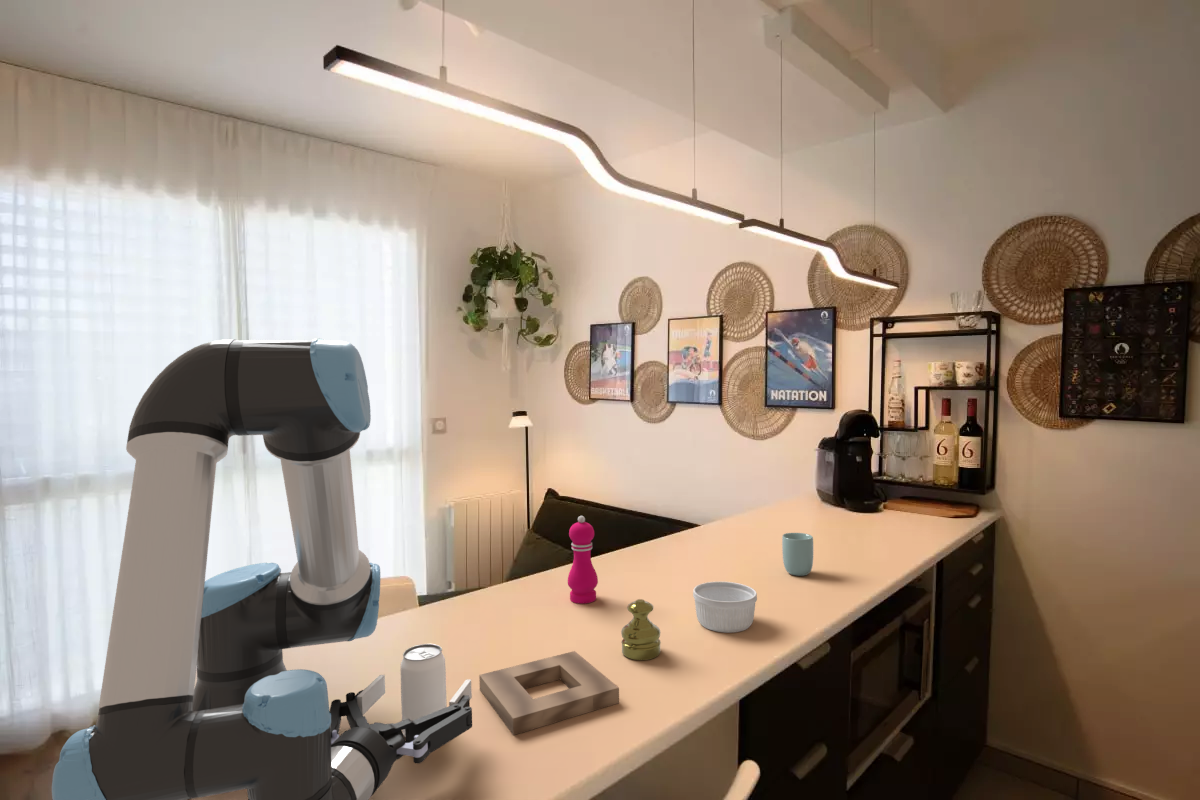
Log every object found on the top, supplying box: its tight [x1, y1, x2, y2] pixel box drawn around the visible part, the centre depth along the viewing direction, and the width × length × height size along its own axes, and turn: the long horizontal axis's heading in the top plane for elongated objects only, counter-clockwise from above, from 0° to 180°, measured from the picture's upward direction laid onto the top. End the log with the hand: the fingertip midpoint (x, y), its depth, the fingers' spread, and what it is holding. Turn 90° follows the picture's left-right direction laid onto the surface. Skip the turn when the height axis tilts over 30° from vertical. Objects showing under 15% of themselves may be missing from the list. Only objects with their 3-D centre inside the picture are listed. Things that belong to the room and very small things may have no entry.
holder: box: [478, 650, 620, 736], centre depth 103 cm, size 18×16×2 cm
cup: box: [781, 532, 814, 577], centre depth 165 cm, size 8×8×10 cm
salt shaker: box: [620, 598, 662, 661], centre depth 119 cm, size 7×7×10 cm
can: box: [400, 643, 448, 738], centre depth 93 cm, size 6×6×12 cm
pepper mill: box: [567, 515, 599, 605], centre depth 149 cm, size 7×7×20 cm
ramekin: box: [692, 581, 758, 634], centre depth 132 cm, size 13×13×7 cm
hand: (425, 685), depth 93 cm, fingers open, 13 cm apart
